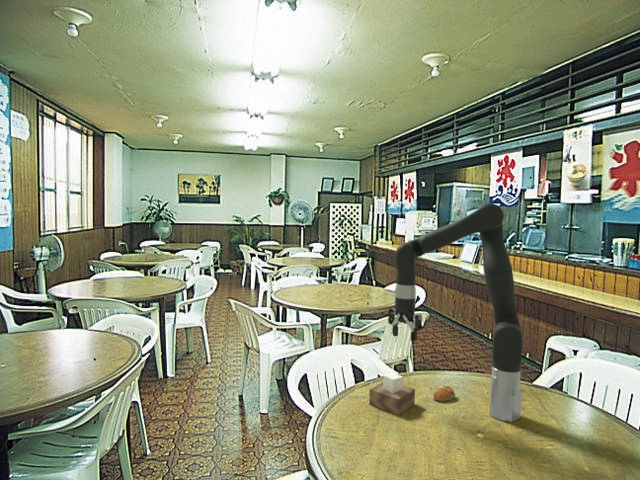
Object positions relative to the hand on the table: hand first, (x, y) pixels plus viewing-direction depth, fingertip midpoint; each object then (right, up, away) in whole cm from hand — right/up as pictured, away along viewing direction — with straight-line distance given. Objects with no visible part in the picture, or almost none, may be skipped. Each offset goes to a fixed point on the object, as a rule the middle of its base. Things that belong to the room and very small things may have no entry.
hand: (404, 338), depth 163 cm
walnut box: (-5, -24, -4) cm, 25 cm away
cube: (-5, -18, -4) cm, 19 cm away
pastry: (+16, -24, +3) cm, 29 cm away
